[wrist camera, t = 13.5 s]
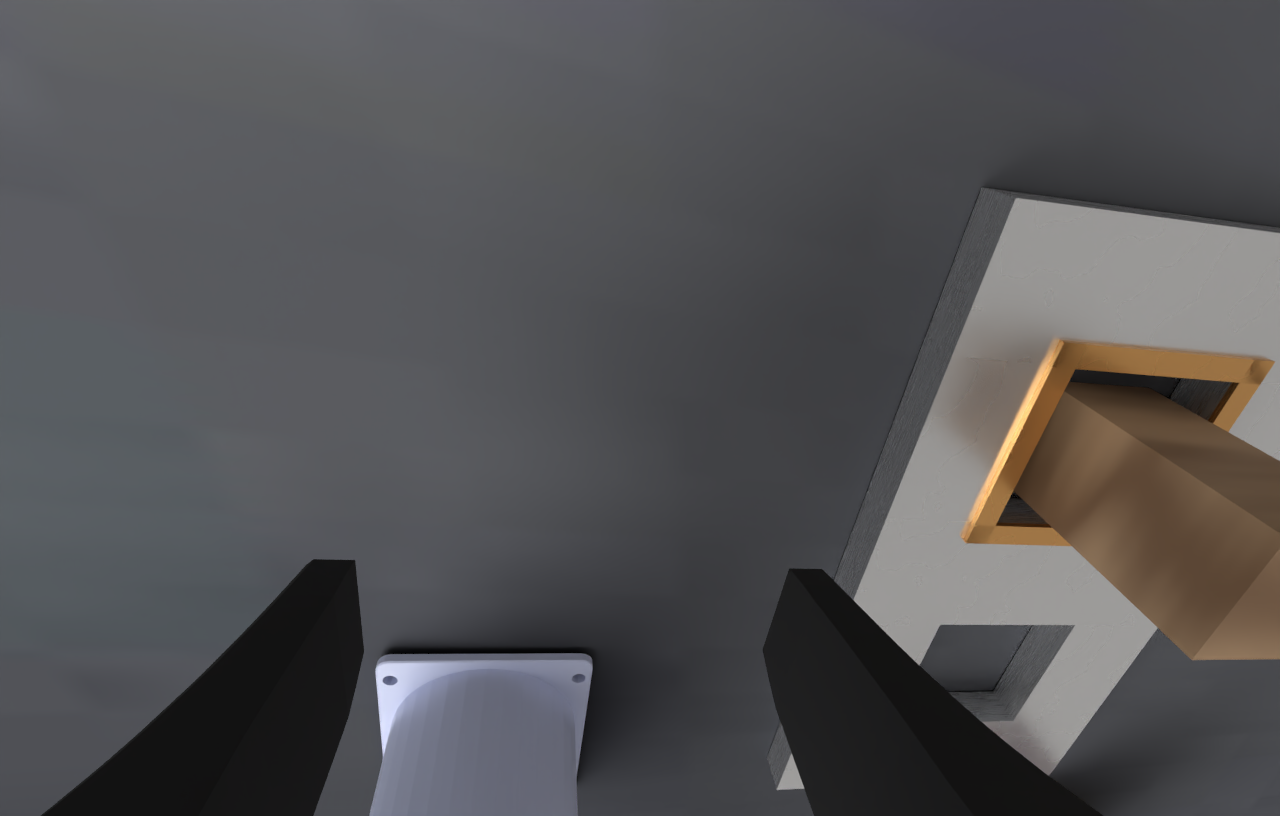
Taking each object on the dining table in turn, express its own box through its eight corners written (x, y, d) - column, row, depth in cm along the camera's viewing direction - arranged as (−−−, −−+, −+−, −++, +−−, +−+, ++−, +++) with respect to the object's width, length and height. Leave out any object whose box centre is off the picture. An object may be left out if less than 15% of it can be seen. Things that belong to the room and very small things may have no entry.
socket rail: (1027, 748, 32) (1050, 781, 31) (767, 757, 30) (778, 794, 28) (1375, 240, 20) (1440, 255, 19) (982, 187, 18) (1021, 199, 16)
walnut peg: (1094, 482, 24) (1317, 658, 17) (1000, 478, 23) (1192, 660, 16) (1148, 387, 22) (1424, 542, 15) (1047, 380, 21) (1287, 538, 14)
